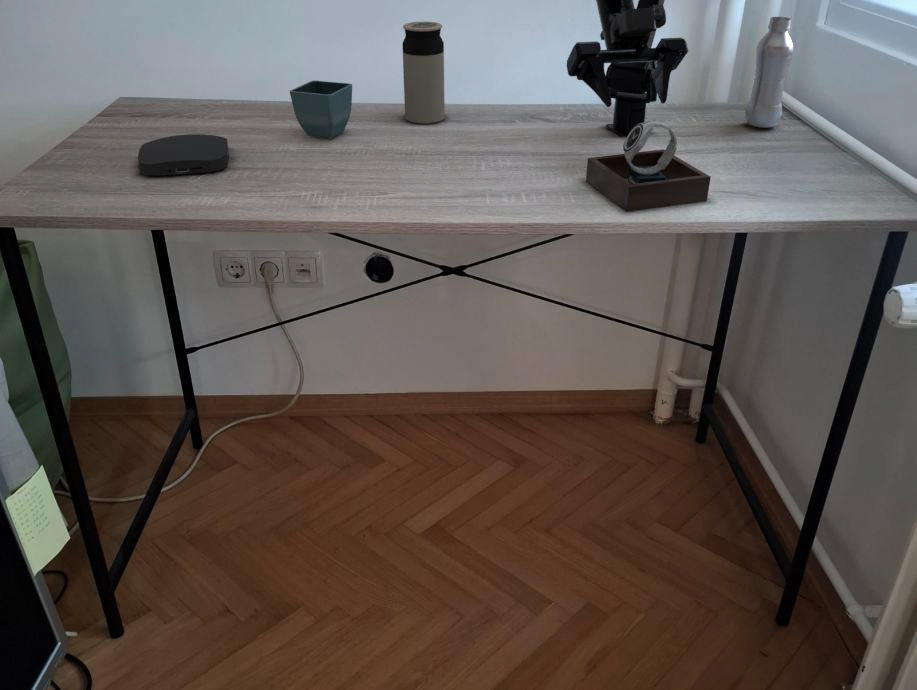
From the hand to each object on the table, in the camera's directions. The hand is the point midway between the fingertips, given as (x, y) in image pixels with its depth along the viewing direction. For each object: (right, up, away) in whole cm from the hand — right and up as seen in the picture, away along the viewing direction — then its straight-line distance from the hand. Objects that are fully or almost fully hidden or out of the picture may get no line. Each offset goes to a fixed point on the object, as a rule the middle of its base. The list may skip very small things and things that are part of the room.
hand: (637, 104), depth 131 cm
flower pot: (-54, +2, +27) cm, 60 cm away
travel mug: (-35, +7, +36) cm, 51 cm away
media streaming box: (-76, -6, +14) cm, 77 cm away
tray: (+1, -14, +1) cm, 14 cm away
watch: (+1, -14, +1) cm, 14 cm away
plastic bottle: (+31, +4, +31) cm, 44 cm away
